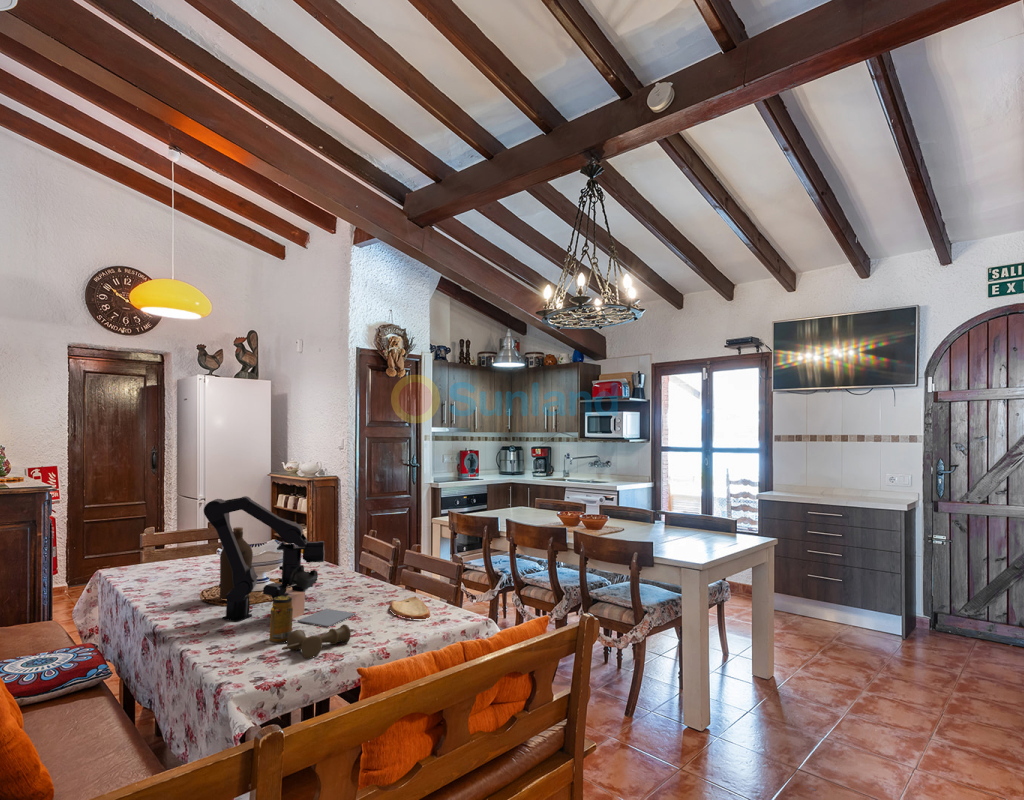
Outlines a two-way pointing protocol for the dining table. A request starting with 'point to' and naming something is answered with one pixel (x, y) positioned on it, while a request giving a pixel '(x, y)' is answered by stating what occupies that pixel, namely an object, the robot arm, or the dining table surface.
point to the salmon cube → (297, 602)
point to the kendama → (316, 640)
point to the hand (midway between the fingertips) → (289, 610)
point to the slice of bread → (410, 608)
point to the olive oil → (225, 568)
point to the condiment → (280, 620)
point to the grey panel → (326, 617)
